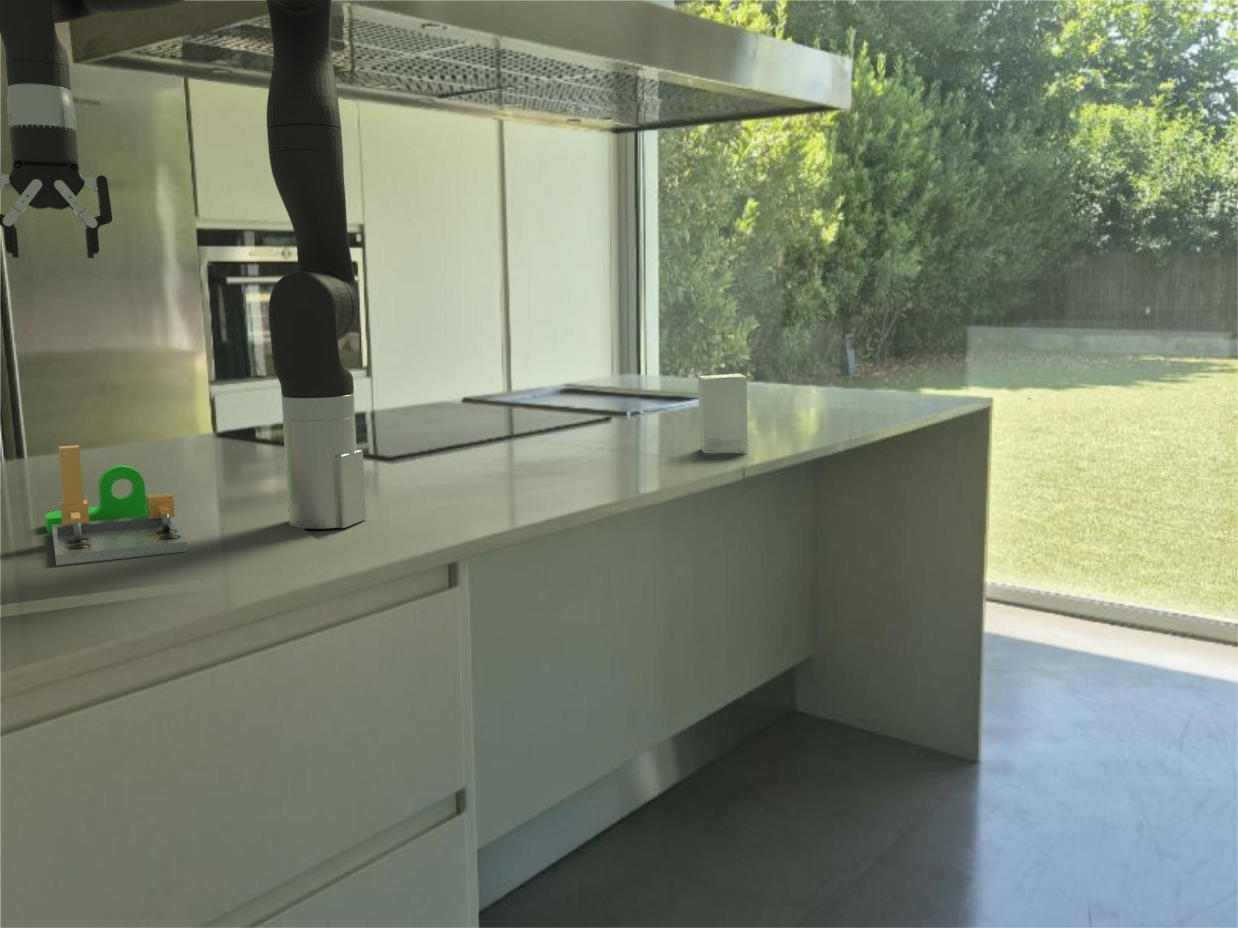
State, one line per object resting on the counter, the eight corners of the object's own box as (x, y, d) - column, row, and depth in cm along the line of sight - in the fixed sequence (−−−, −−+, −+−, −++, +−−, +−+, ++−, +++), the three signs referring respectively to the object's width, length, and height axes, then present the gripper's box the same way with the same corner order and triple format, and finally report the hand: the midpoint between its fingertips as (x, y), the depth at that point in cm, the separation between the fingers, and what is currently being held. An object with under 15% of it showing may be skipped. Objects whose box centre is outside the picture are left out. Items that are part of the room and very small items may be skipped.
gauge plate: (168, 522, 151) (165, 486, 151) (187, 551, 134) (184, 510, 133) (52, 533, 145) (49, 496, 144) (56, 565, 127) (52, 523, 127)
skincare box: (742, 453, 209) (742, 373, 207) (748, 457, 203) (749, 375, 201) (697, 454, 208) (697, 374, 206) (702, 459, 202) (702, 376, 200)
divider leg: (88, 527, 142) (81, 444, 140) (92, 538, 135) (84, 452, 133) (62, 529, 140) (54, 446, 139) (64, 541, 133) (56, 454, 132)
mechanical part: (140, 516, 157) (136, 459, 156) (147, 523, 152) (143, 465, 151) (44, 526, 151) (39, 467, 150) (48, 534, 146) (43, 473, 144)
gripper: (102, 133, 147) (112, 259, 150) (-23, 126, 140) (-11, 258, 143) (107, 126, 141) (117, 258, 143) (-24, 118, 134) (-11, 256, 136)
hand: (53, 258), depth 143 cm, fingers open, 8 cm apart
